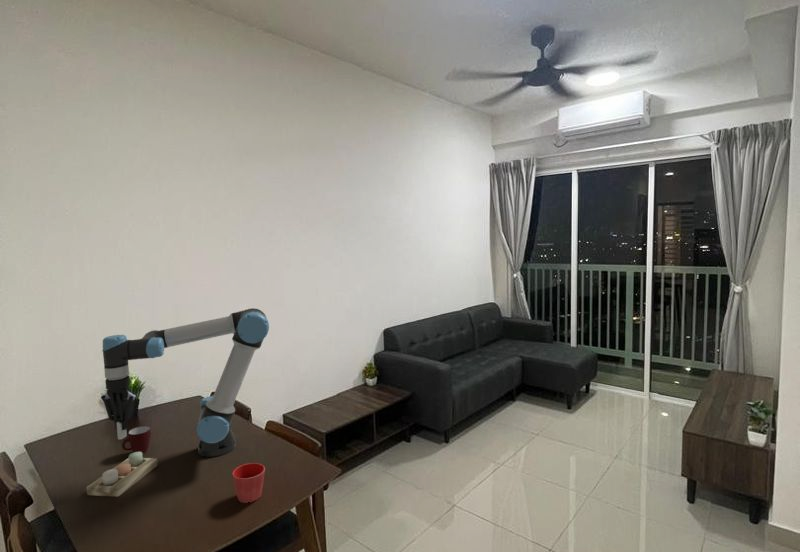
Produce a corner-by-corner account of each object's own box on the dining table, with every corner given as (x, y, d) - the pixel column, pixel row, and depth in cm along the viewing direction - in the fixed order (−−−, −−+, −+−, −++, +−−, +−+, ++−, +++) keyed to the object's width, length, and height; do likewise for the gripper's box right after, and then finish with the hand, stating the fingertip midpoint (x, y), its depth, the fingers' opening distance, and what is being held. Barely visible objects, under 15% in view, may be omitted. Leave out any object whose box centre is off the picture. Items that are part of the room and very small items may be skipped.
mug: (125, 461, 175) (124, 438, 174) (120, 455, 180) (119, 432, 180) (154, 452, 182) (152, 430, 181) (148, 446, 188) (147, 424, 187)
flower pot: (254, 484, 157) (253, 459, 156) (271, 495, 150) (270, 469, 149) (227, 498, 149) (226, 471, 148) (244, 510, 142) (243, 482, 141)
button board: (157, 465, 171) (156, 458, 171) (118, 496, 151) (117, 488, 150) (129, 464, 173) (129, 457, 172) (87, 495, 152) (86, 487, 151)
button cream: (121, 478, 157) (120, 469, 157) (111, 485, 152) (111, 476, 152) (109, 477, 157) (109, 468, 157) (99, 484, 153) (99, 475, 152)
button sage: (145, 460, 170) (144, 451, 170) (137, 466, 165) (136, 457, 165) (134, 459, 170) (134, 451, 170) (126, 465, 166) (125, 457, 165)
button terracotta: (134, 472, 163) (133, 463, 163) (125, 478, 159) (124, 469, 159) (122, 471, 164) (122, 462, 164) (113, 478, 159) (113, 469, 159)
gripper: (140, 373, 161) (145, 433, 163) (109, 373, 163) (113, 432, 165) (126, 380, 154) (131, 442, 156) (93, 380, 155) (98, 442, 157)
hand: (122, 437), depth 160 cm, fingers closed
